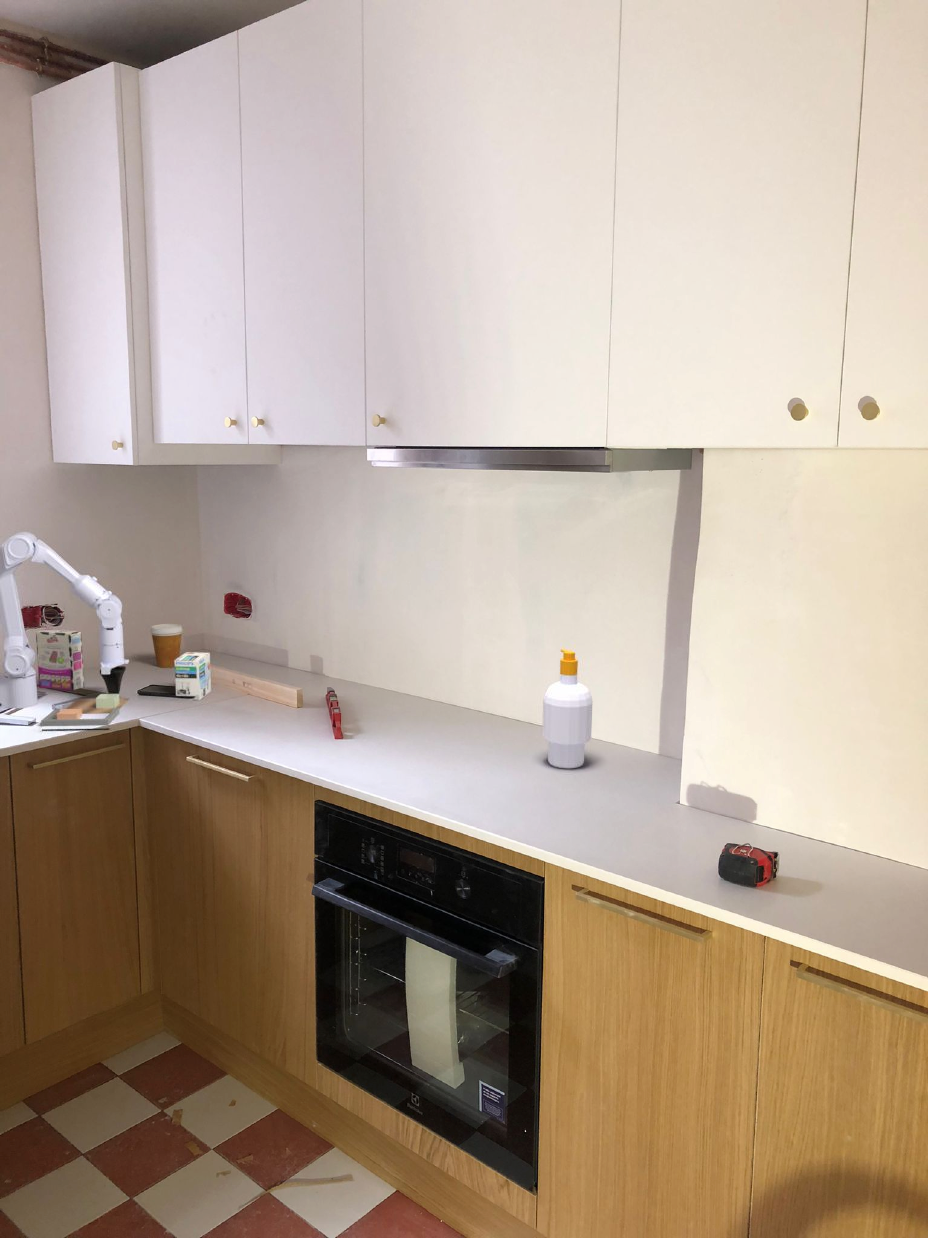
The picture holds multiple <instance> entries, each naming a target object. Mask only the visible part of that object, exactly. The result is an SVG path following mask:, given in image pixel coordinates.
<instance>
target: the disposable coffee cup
mask: <svg viewBox="0 0 928 1238" xmlns="http://www.w3.org/2000/svg"><path fill="white" fill-rule="evenodd" d="M149 632H150V634H151V637H152V644H153V650H154V654H155V655H154V656H155V660H156V661H155V662H156V666H157V667H158V668H162V669H163V668H175V662H174V660H176V659H177V658H179V657H180V656H181V655H180V654H181V646H182V645H181V643H182V634H183V632H184V629H183V626H182V625H181V624H176V623H163V624H162V623H160V624H155V625H152V626H151V627H150V630H149Z"/></svg>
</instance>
